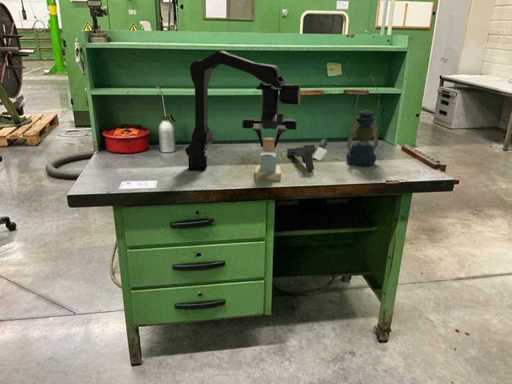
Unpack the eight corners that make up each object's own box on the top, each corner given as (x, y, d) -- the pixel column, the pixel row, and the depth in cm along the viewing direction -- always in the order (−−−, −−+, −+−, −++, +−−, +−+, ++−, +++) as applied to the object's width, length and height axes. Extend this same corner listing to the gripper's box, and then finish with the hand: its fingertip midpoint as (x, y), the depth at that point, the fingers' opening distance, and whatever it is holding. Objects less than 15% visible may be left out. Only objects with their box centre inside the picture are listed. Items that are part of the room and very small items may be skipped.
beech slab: (255, 179, 151) (255, 173, 150) (255, 171, 159) (256, 165, 158) (280, 180, 151) (280, 173, 150) (279, 172, 159) (280, 165, 158)
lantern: (354, 168, 164) (364, 76, 152) (337, 160, 175) (345, 73, 162) (384, 165, 169) (396, 75, 157) (366, 157, 180) (376, 72, 167)
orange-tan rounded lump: (261, 151, 150) (261, 140, 148) (263, 147, 154) (263, 137, 152) (273, 151, 149) (273, 140, 147) (275, 148, 153) (275, 138, 151)
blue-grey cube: (260, 171, 151) (260, 156, 149) (260, 166, 156) (260, 152, 154) (275, 171, 151) (276, 157, 149) (275, 167, 156) (275, 152, 154)
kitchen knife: (324, 159, 173) (312, 155, 174) (322, 165, 174) (310, 160, 175) (332, 141, 199) (322, 137, 200) (330, 146, 200) (320, 142, 201)
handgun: (307, 171, 159) (305, 145, 158) (286, 169, 182) (284, 146, 181) (316, 171, 160) (315, 144, 159) (294, 168, 183) (293, 145, 182)
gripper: (241, 106, 138) (241, 152, 144) (298, 108, 138) (296, 154, 143) (243, 101, 148) (242, 144, 154) (296, 102, 148) (294, 145, 154)
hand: (268, 147), depth 151 cm, fingers closed on orange-tan rounded lump, 4 cm apart
